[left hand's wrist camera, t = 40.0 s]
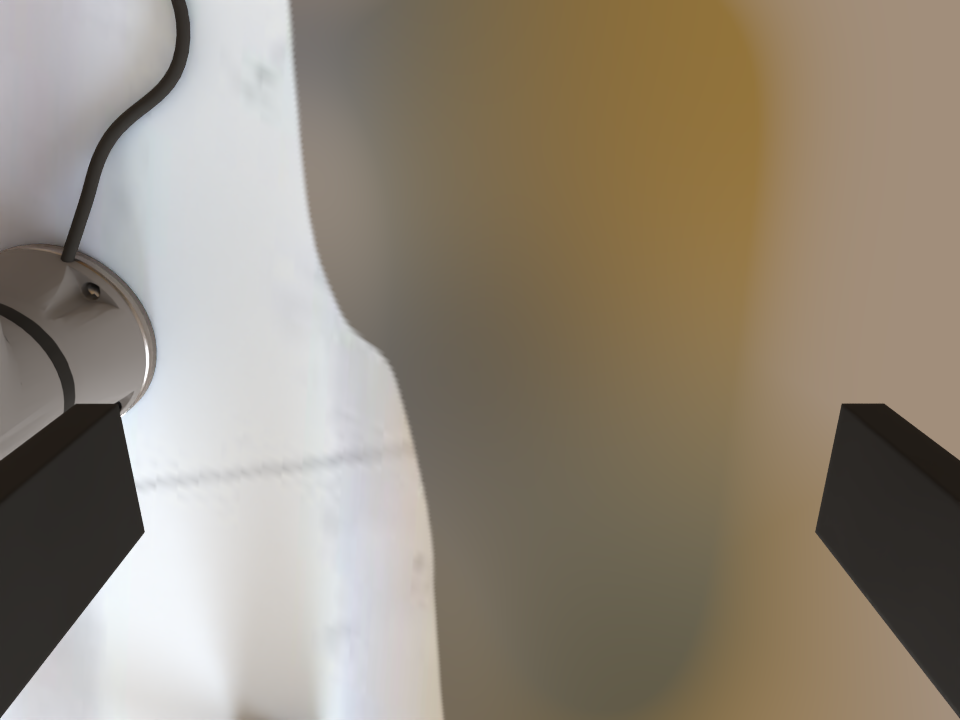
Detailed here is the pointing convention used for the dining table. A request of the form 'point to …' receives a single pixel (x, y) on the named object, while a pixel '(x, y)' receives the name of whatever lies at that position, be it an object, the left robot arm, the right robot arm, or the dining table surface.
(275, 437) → the dining table surface
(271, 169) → the dining table surface
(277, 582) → the dining table surface
